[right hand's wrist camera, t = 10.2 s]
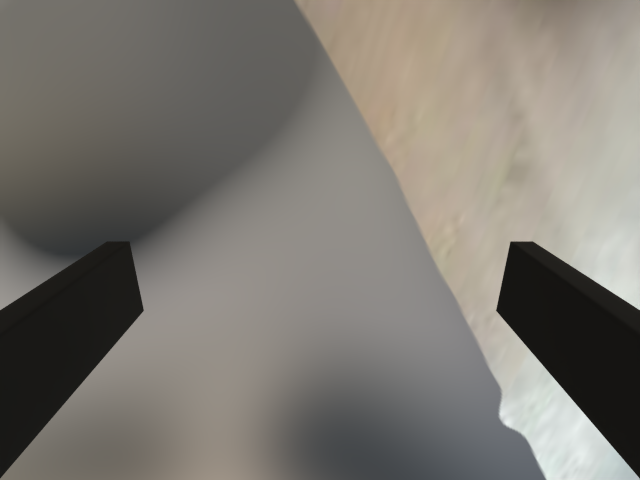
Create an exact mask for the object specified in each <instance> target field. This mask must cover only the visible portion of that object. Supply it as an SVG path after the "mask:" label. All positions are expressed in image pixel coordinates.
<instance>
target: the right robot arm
mask: <svg viewBox="0 0 640 480" xmlns="http://www.w3.org/2000/svg"><path fill="white" fill-rule="evenodd" d="M143 311H144V310H143V305H142V300H141V295H140V291H139V286H138V281H137V276H136V271H135V266H134V261H133V257H132V252H131V247H130V242H106V243H104V244H103V245H101V246H100V247H98V248H96V249H95V250H93V251H92V252H90V253H89V254H87V255H86V256H84V257H82V258H81V259H79V260H78V261H76V262H75V263H73V264H72V265H70V266H68V267H67V268H65V269H64V270H62V271H61V272H59V273H58V274H56V275H54V276H53V277H51V278H50V279H48V280H47V281H45V282H44V283H42V284H40V285H39V286H37V287H36V288H34V289H33V290H31V291H30V292H28V293H26V294H25V295H23V296H22V297H20V298H19V299H17V300H16V301H14V302H13V303H11V304H9V305H8V306H6V307H5V308H3V309H2V310H0V478H1V477H2V476H3V474H4V473H5V472H6V471H7V470H8V469H9V467H10V466H11V465H12V464H13V463H14V462H15V460H16V459H17V458H18V457H19V456H20V455H21V453H22V452H23V451H24V450H25V449H26V448H27V446H28V445H29V444H30V443H31V442H32V441H33V439H34V438H35V437H36V436H37V435H38V433H39V432H40V431H41V430H42V429H43V428H44V427H45V425H46V424H47V423H48V422H49V421H50V420H51V418H52V417H53V416H54V415H55V414H56V413H57V411H58V410H59V409H60V408H61V407H62V405H63V404H64V403H65V402H66V401H67V400H68V399H69V397H70V396H71V395H72V394H73V393H74V391H75V390H76V389H77V388H78V387H79V386H80V385H81V383H82V382H83V381H84V380H85V379H86V377H87V376H88V375H89V374H90V373H91V372H92V370H93V369H94V368H95V367H96V366H97V365H98V363H99V362H100V361H101V360H102V359H103V358H104V356H105V355H106V354H107V353H108V352H109V351H110V349H111V348H112V347H113V346H114V345H115V344H116V342H117V341H118V340H119V339H120V338H121V337H122V335H123V334H124V333H125V332H126V331H127V330H128V328H129V327H130V326H131V325H132V324H133V323H134V321H135V320H136V319H137V318H138V317H139V316H140V314H141V313H142V312H143ZM496 311H497V312H498V313H499V314H500V316H501V317H502V318H503V319H504V320H505V321H506V323H507V324H508V325H509V326H510V327H511V328H512V330H513V331H514V332H515V333H516V334H517V335H518V337H519V338H520V339H521V340H522V341H523V342H524V344H525V345H526V346H527V347H528V348H529V349H530V351H531V352H532V353H533V354H534V355H535V356H536V358H537V359H538V360H539V361H540V362H541V363H542V365H543V366H544V367H545V368H546V369H547V370H548V372H549V373H550V374H551V375H552V376H553V377H554V379H555V380H556V381H557V382H558V383H559V385H560V386H561V387H562V388H563V389H564V390H565V392H566V393H567V394H568V395H569V396H570V397H571V399H572V400H573V401H574V402H575V403H576V404H577V406H578V407H579V408H580V409H581V410H582V411H583V413H584V414H585V415H586V416H587V417H588V418H589V420H590V421H591V422H592V423H593V424H594V425H595V427H596V428H597V429H598V430H599V431H600V432H601V434H602V435H603V436H604V437H605V438H606V439H607V441H608V442H609V443H610V444H611V445H612V446H613V448H614V449H615V450H616V451H617V452H618V453H619V455H620V456H621V457H622V458H623V459H624V460H625V462H626V463H627V464H628V465H629V466H630V467H631V469H632V470H633V471H634V472H635V473H636V474H637V476H638V477H639V478H640V310H638V309H637V308H635V307H634V306H632V305H631V304H629V303H627V302H626V301H624V300H623V299H621V298H620V297H618V296H617V295H615V294H614V293H612V292H610V291H609V290H607V289H606V288H604V287H603V286H601V285H600V284H598V283H596V282H595V281H593V280H592V279H590V278H589V277H587V276H586V275H584V274H582V273H581V272H579V271H578V270H576V269H575V268H573V267H572V266H570V265H568V264H567V263H565V262H564V261H562V260H561V259H559V258H558V257H556V256H554V255H553V254H551V253H550V252H548V251H547V250H545V249H544V248H542V247H540V246H539V245H537V244H536V243H534V242H510V247H509V252H508V257H507V261H506V266H505V271H504V276H503V281H502V286H501V290H500V295H499V300H498V305H497V310H496Z"/></svg>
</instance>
